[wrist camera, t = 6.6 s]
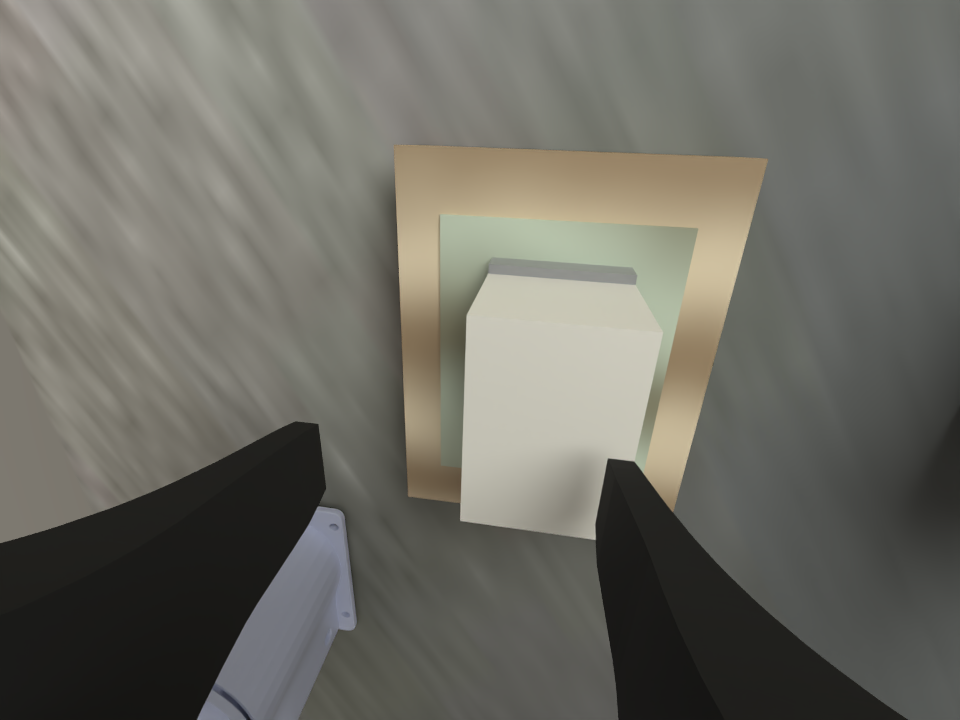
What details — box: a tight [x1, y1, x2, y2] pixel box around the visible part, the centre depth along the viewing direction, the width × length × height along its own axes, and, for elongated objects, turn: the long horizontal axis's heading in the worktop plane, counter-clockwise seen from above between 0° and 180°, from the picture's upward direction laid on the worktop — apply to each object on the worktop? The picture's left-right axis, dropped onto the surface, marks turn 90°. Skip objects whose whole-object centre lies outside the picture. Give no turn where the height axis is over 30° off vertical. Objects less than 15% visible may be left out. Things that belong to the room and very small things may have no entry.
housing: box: [460, 257, 663, 540], centre depth 14 cm, size 7×4×5 cm, turn 177°
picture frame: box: [394, 145, 768, 512], centre depth 18 cm, size 14×11×3 cm
